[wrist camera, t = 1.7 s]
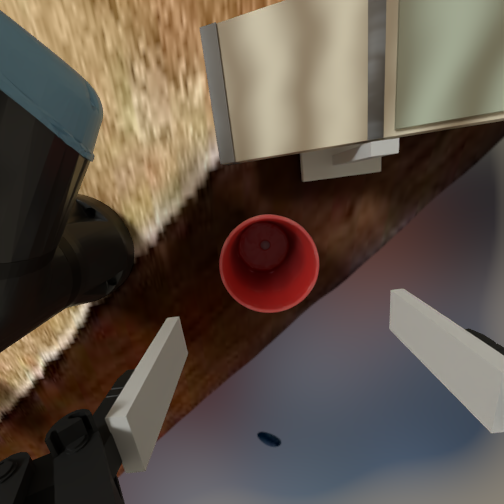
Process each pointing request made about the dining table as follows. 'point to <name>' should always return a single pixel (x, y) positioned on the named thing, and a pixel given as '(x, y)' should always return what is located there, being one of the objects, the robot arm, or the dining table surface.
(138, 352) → the dining table surface
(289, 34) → the beam
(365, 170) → the stand
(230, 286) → the flower pot
